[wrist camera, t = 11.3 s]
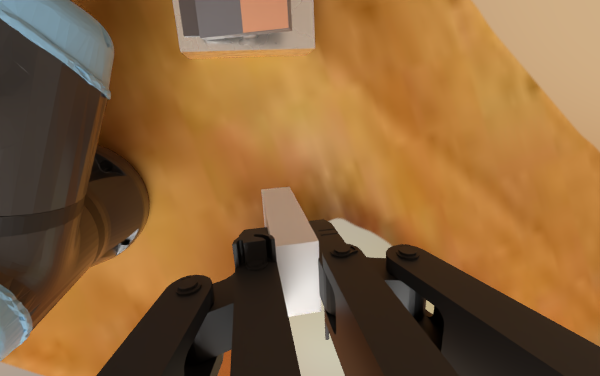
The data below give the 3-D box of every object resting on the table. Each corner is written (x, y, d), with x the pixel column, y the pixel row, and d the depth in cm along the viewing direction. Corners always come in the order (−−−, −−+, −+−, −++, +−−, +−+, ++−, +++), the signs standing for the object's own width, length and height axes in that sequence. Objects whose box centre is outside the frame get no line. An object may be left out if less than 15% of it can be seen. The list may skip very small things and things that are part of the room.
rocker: (211, 41, 31) (199, 38, 29) (205, -2, 30) (193, -9, 28) (294, 33, 29) (289, 28, 27) (292, -14, 28) (286, -23, 26)
